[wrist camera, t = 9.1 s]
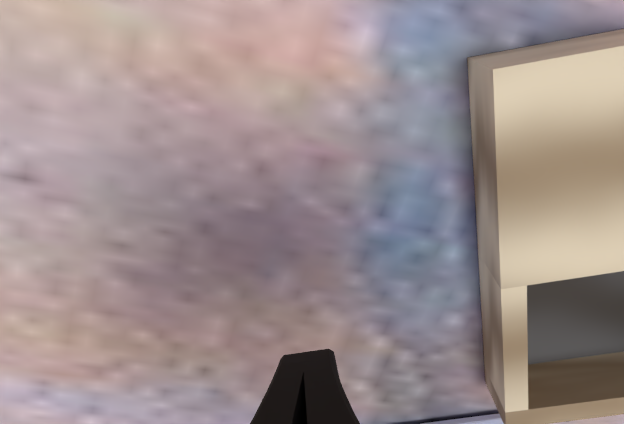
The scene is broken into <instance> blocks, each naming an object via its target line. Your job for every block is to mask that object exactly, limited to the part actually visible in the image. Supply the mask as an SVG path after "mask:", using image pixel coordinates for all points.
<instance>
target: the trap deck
mask: <svg viewBox="0 0 624 424" xmlns="http://www.w3.org/2000/svg"><path fill="white" fill-rule="evenodd" d="M467 61H468V79H469V97H470V115H471V133H472V151H473V169H474V187H475V205H476V223H477V241H478V259H479V277H480V295H481V313H482V331H483V349H484V367H485V382H486V384H487V387H488V389H489V391H490V394H491V396H492V398H493V400H494V403H495V405H496V407H497V410H498V412H499V414H500V417H501V419H502V421H503V423H504V424H550V423H557V422H565V421H573V420H581V419H589V418H597V417H604V416H612V415H620V414H624V29H620V30H615V31H610V32H604V33H599V34H593V35H588V36H582V37H577V38H572V39H566V40H561V41H555V42H550V43H544V44H539V45H533V46H528V47H523V48H517V49H512V50H506V51H501V52H495V53H490V54H485V55H479V56H474V57H468V58H467Z"/></svg>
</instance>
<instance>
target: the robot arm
mask: <svg viewBox="0 0 624 424" xmlns="http://www.w3.org/2000/svg"><path fill="white" fill-rule="evenodd" d="M250 424H360V423H359V421H358V419H357V418H356V416H355V414H354V412H353V410H352V408H351V405H350V403H349V401H348V399H347V397H346V394H345V392H344V390H343V387H342V385H341V382H340V379H339V375H338V370H337V365H336V360H335V355H334V352H333V351H332V350H330V349H324V350H317V351H310V352H303V353H296V354H289V355H284V356H283V357H282V358H281V360H280V362H279V365H278V367H277V370H276V372H275V374H274V377H273V379H272V381H271V384H270V386H269V388H268V390H267V392H266V394H265V396H264V398H263V400H262V402H261V404H260V406H259V408H258V410H257V412H256V414H255V416H254V418H253V419H252V421H251V423H250ZM422 424H504V423H503V421H502V419H501V417H500V414H491V415H483V416H475V417H468V418H460V419H452V420H445V421H437V422H429V423H422Z"/></svg>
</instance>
